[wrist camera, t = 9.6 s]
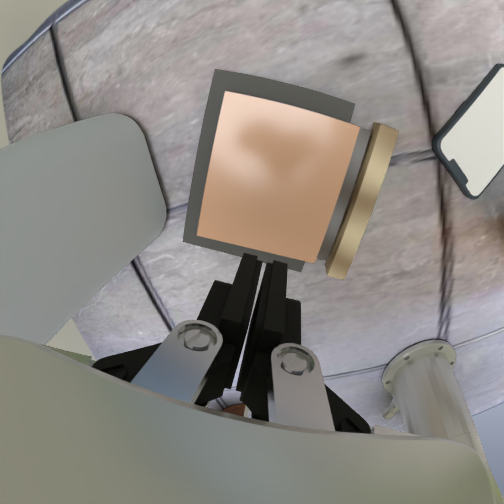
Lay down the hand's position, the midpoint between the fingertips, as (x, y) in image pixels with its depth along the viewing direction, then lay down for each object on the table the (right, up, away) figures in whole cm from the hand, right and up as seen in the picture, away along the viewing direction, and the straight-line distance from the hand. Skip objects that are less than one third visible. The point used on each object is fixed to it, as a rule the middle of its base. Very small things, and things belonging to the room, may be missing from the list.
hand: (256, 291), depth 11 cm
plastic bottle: (-17, +9, +19) cm, 27 cm away
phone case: (+26, +15, +12) cm, 32 cm away
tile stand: (+11, +7, +17) cm, 21 cm away
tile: (+8, +7, +16) cm, 19 cm away
